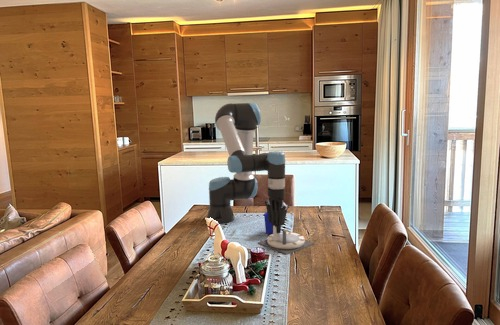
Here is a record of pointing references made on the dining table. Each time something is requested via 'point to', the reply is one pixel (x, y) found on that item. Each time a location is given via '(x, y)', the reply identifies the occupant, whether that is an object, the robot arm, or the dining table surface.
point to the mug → (268, 224)
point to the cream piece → (286, 240)
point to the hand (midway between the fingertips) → (276, 239)
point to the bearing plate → (286, 251)
